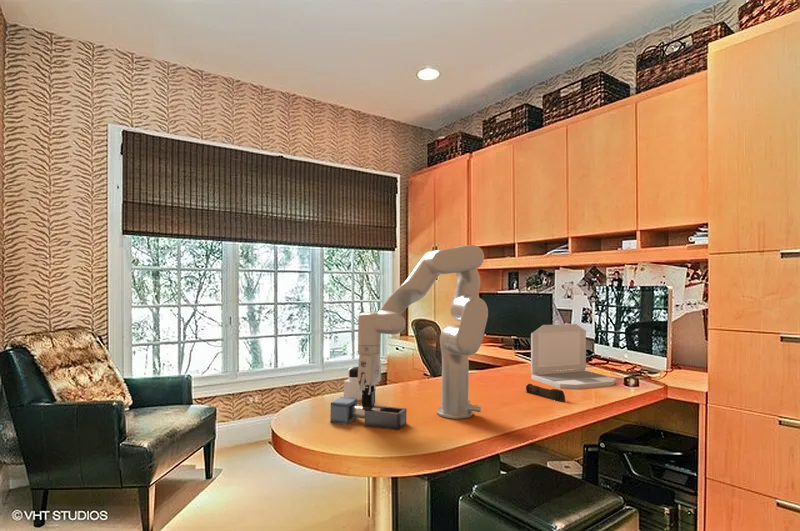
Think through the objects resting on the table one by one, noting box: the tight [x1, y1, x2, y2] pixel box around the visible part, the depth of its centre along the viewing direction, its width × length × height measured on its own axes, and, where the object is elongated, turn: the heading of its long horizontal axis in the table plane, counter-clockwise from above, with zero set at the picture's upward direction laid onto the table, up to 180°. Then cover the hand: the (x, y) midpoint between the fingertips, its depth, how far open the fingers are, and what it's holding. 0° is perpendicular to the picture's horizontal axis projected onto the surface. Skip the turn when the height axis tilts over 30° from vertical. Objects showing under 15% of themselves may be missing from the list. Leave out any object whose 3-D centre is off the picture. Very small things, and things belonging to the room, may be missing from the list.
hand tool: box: [525, 383, 566, 403], centre depth 189 cm, size 19×4×5 cm, turn 28°
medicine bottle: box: [343, 366, 367, 401], centre depth 184 cm, size 7×7×12 cm
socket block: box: [329, 396, 358, 425], centre depth 155 cm, size 6×8×6 cm
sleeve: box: [364, 404, 407, 431], centre depth 151 cm, size 12×7×5 cm, turn 72°
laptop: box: [530, 323, 617, 390], centre depth 219 cm, size 33×24×26 cm
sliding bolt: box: [349, 391, 382, 420], centre depth 154 cm, size 14×4×9 cm, turn 72°
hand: (368, 404), depth 153 cm, fingers closed on sliding bolt, 2 cm apart
